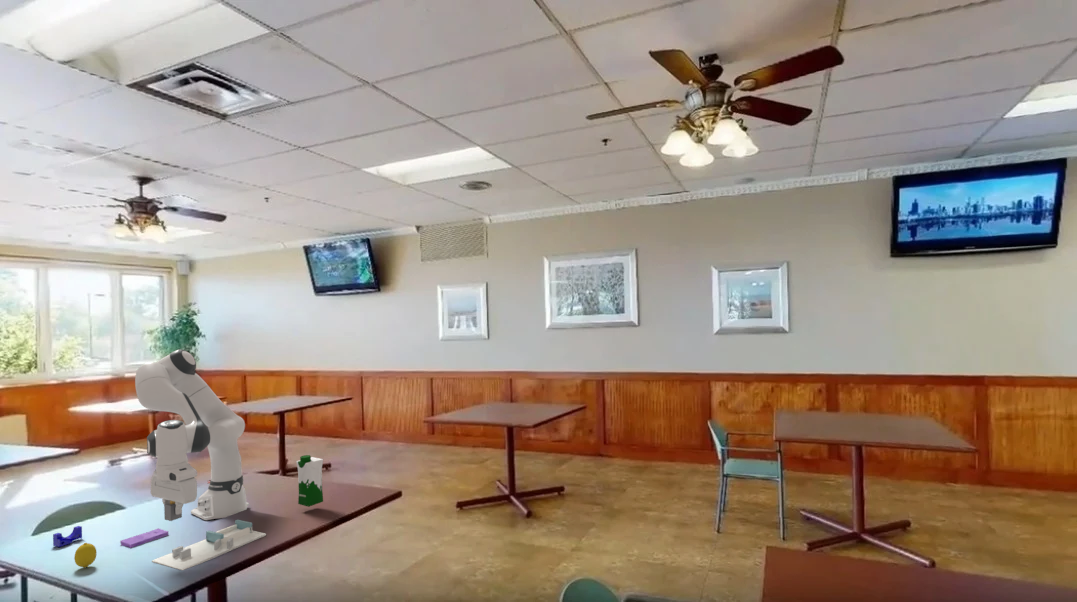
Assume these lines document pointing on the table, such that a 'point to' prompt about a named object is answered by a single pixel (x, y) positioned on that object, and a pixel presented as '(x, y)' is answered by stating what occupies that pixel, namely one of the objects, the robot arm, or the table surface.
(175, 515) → the block
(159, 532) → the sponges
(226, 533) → the end holder
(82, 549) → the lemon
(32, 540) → the table surface
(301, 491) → the milk carton
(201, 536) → the table surface
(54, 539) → the cable holder
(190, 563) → the board
